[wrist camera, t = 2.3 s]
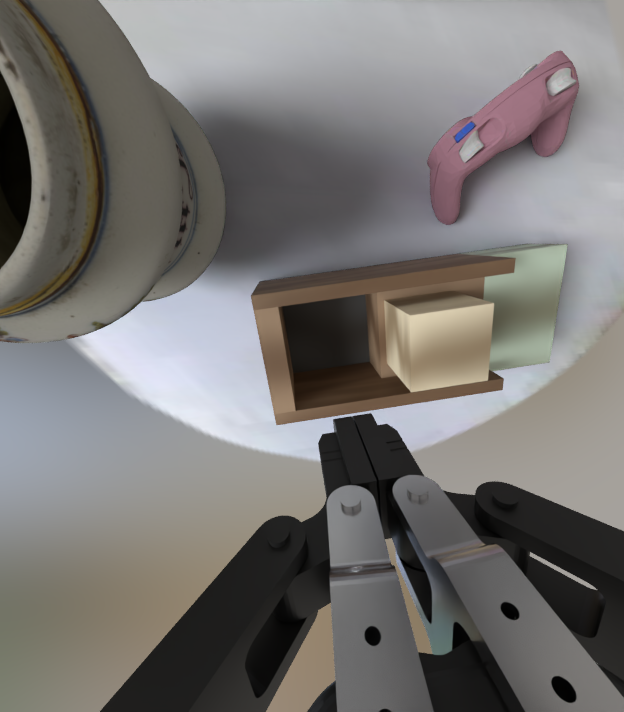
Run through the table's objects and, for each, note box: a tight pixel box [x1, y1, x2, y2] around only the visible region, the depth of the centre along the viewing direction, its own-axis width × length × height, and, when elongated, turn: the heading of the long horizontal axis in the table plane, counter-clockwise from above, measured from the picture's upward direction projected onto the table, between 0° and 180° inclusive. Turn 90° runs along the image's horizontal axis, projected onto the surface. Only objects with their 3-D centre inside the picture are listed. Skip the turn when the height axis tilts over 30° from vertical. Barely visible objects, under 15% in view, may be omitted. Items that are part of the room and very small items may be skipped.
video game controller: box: [427, 51, 579, 225], centre depth 21 cm, size 10×5×7 cm, turn 125°
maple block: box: [384, 291, 494, 392], centre depth 21 cm, size 5×5×5 cm
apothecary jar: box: [0, 0, 226, 343], centre depth 14 cm, size 12×12×18 cm
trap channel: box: [251, 244, 568, 425], centre depth 24 cm, size 9×22×7 cm, turn 97°
